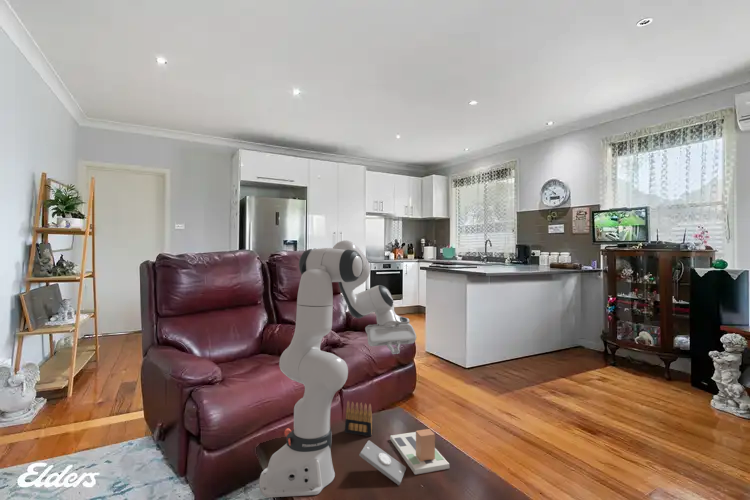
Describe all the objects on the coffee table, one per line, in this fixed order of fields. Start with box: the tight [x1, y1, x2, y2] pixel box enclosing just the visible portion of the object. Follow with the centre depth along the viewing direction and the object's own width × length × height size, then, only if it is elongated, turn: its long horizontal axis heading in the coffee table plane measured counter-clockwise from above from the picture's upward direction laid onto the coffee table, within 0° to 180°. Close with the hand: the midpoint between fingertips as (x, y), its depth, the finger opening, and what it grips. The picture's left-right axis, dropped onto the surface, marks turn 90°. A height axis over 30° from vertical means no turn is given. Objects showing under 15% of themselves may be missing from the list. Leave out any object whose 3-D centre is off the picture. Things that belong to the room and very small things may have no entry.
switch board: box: [389, 431, 450, 475], centre depth 131 cm, size 12×23×2 cm, turn 17°
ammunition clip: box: [344, 400, 373, 437], centre depth 145 cm, size 11×2×12 cm, turn 73°
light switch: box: [358, 440, 407, 486], centre depth 118 cm, size 8×6×14 cm
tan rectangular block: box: [415, 428, 436, 461], centre depth 125 cm, size 5×4×8 cm
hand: (396, 353), depth 150 cm, fingers closed
